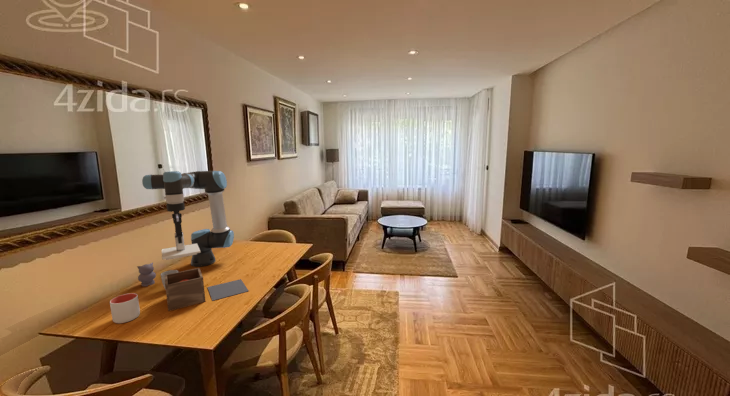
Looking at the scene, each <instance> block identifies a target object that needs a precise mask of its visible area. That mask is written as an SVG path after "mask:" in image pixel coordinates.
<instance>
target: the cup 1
mask: <svg viewBox="0 0 730 396" xmlns="http://www.w3.org/2000/svg"><path fill="white" fill-rule="evenodd" d="M138 296H139V295H138V294H137V293H135V292H134V293H132V292H131V293H124V294H120V295H118V296H115V297H113V298H112V299H110V300H109V305H110V312H111V319H112V322H113V323H115V324H124V323H128V322H131V321H133V320H135V319H136V318H138V317H139V316H140V314H141V309H140V301H139V297H138Z"/></svg>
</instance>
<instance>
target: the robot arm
mask: <svg viewBox="0 0 730 396" xmlns="http://www.w3.org/2000/svg"><path fill="white" fill-rule="evenodd" d="M141 180H142V182H141V183H142V184H141V185H142V186H143V187H144V189H146V190H164V195H165V196H164V197H163V198H164V199H165V202H166V205H165V206H166V211H167V212H170V213H171V212H173V213H172V214H171V217H172V221H173V224H174V231H175V233H176V236H175V235H174V239H175V238H176V240H177V249H178V250H180V249H184V245H185V243H184V244H183V237H184V233H183V234H182V232H183V227H182V222H183V221H182V220H183V219H182V217H183V216H182V213H181V212H180V211H184V210H185V209H186V205H185V195H184V190H183V189H195V190H204V193H205V194H207V197H208V204H209V210H210V215H211V222H212V226H213V227H212V229H211V230H210V228H203V229H199V230H195V231H193V232H192V233H191V235H190V240H191V241H190V242H191V244H196V243H197V244H198V247H199V249H200V252H201V253H197V254H196V255H191V256H192V257H191V259H190V266H191V267H194V268H196V267H197V268H200V267H206V266H210V265H212V264H214V263H215V262H216V261H217V260H216V257H215V254H214V252H213V249H222V248H223V249H225V248H230V247H231V246H232V245H233V243H234V238H235V233H234V230H231V228H230V226H229V225H228V223H227V222H228V221H227V216H226V208H225V203H224V201H225V200H224V194H223V192H225V189H227V186H228V182H227V180H228V179H227V177H226V174H225V173H224V172H222V171H221V170H200V171H199V170H197V171H190V172H183V173H181V171H179V170H174V171H173V170H172V171H171V170H169V171H164V172H163V173H162V174H146V175H144V176H143V177H142V179H141Z"/></svg>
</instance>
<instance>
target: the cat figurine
mask: <svg viewBox="0 0 730 396" xmlns="http://www.w3.org/2000/svg"><path fill="white" fill-rule="evenodd" d="M153 264H154V262H151V263H146V264H143V265H138V266H136V267H137V269H138V273H139V275H137V277H138V278H137V280H138V281H139V282H140V283H141V284H140V286H141V287H149V286H148V285H150V286H152V285H154V284H156V282H155V278H156V277H157V274H156V272H155V268H154V265H153Z"/></svg>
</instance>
